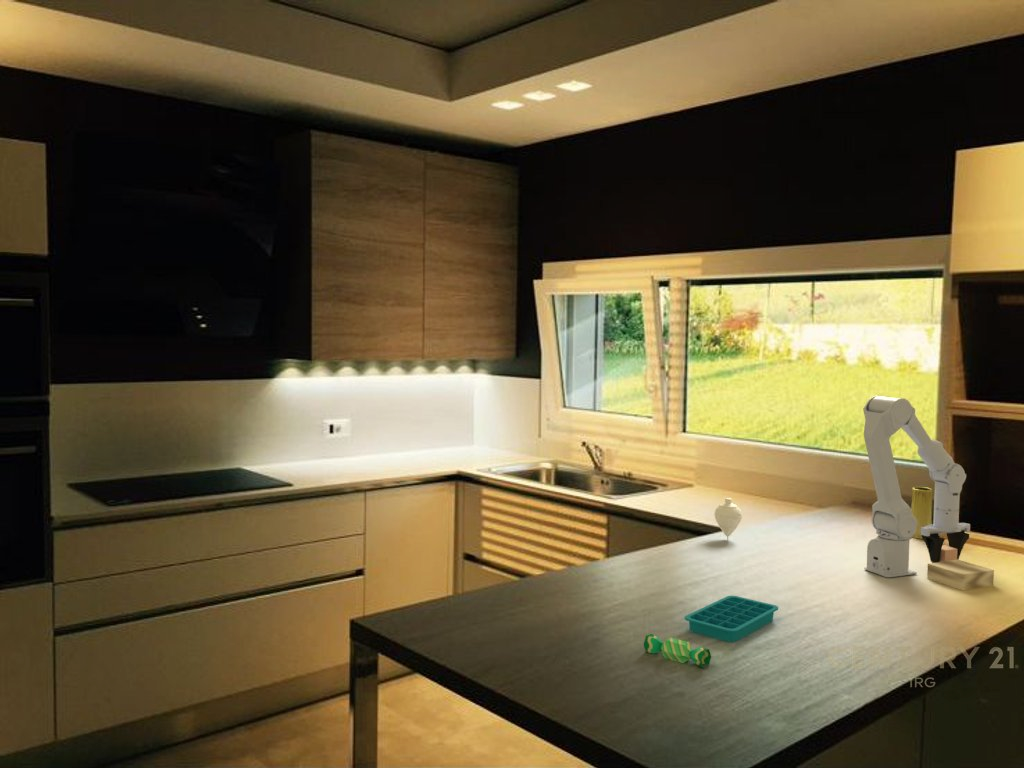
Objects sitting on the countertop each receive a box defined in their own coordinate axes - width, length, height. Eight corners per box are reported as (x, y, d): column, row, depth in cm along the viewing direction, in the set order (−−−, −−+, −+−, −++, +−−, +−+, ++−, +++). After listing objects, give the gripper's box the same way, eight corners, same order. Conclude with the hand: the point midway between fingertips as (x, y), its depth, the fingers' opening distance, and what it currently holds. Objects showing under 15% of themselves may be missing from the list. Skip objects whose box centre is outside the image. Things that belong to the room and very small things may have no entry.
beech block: (962, 591, 200) (963, 574, 199) (927, 579, 209) (927, 563, 209) (993, 586, 203) (993, 570, 203) (957, 575, 213) (957, 559, 212)
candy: (641, 650, 160) (648, 629, 162) (649, 655, 162) (655, 635, 164) (699, 667, 152) (706, 644, 154) (706, 672, 155) (713, 650, 156)
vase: (927, 534, 252) (929, 486, 251) (935, 539, 246) (937, 490, 245) (905, 533, 253) (907, 486, 252) (913, 539, 247) (915, 490, 246)
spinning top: (708, 538, 248) (709, 497, 247) (729, 535, 251) (730, 494, 250) (725, 544, 241) (726, 502, 240) (747, 541, 244) (748, 499, 243)
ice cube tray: (681, 632, 173) (681, 617, 173) (730, 608, 188) (730, 594, 187) (734, 646, 165) (734, 631, 165) (780, 620, 180) (781, 606, 180)
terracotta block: (944, 569, 216) (945, 550, 216) (931, 565, 220) (932, 546, 220) (956, 568, 218) (957, 548, 217) (943, 564, 221) (944, 545, 221)
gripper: (937, 514, 211) (935, 568, 212) (981, 509, 216) (979, 562, 217) (914, 508, 218) (913, 560, 219) (957, 504, 223) (955, 555, 224)
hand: (944, 561), depth 219 cm, fingers open, 6 cm apart
